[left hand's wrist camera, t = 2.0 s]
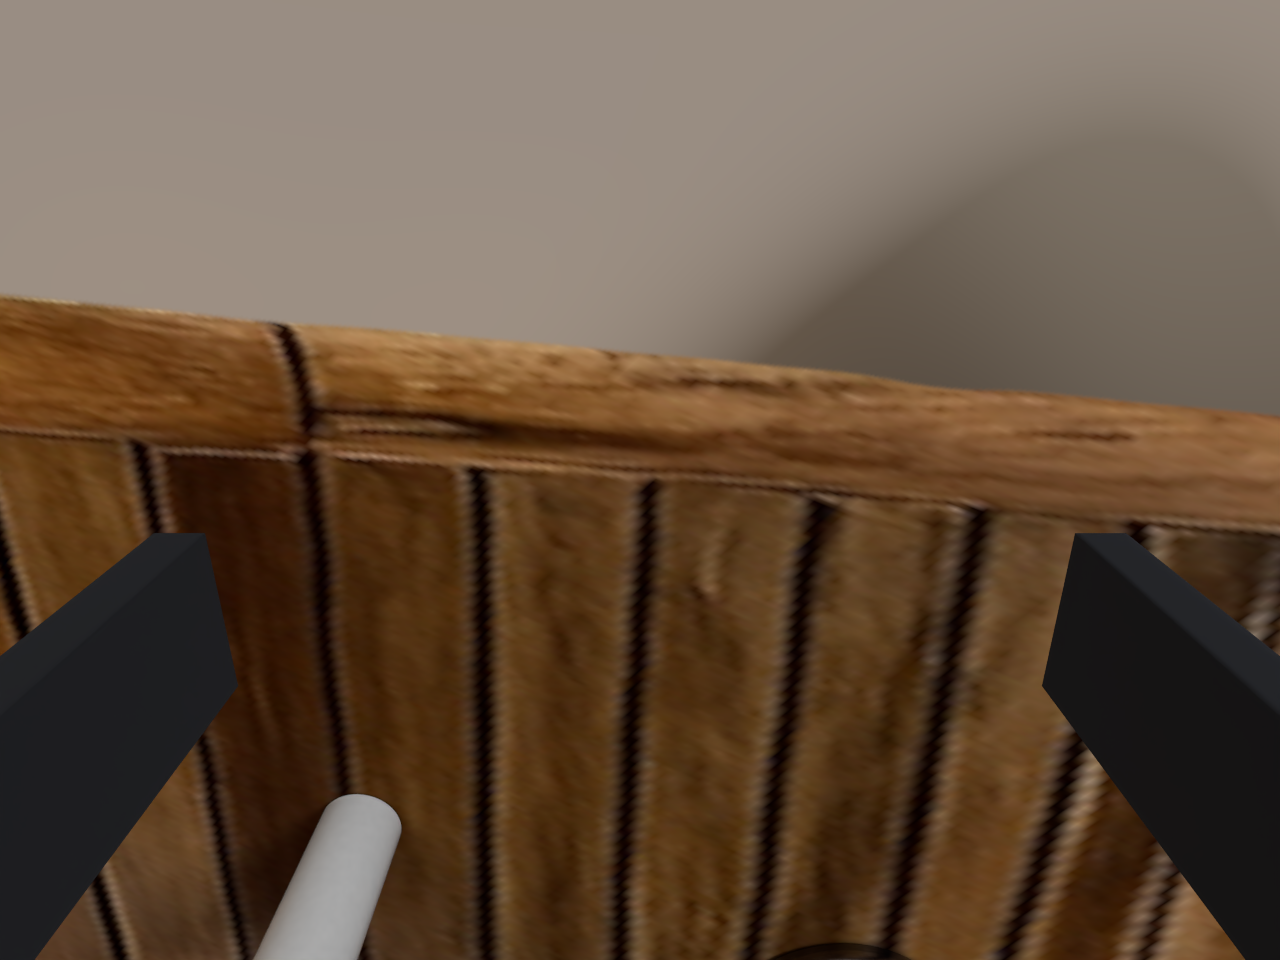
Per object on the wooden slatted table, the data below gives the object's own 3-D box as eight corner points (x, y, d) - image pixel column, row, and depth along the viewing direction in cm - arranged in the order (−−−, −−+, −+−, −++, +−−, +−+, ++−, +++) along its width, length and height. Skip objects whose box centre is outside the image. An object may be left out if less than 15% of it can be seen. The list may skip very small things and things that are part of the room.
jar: (407, 853, 52) (306, 1163, 36) (330, 856, 52) (194, 1168, 36) (394, 791, 50) (280, 1090, 34) (314, 795, 50) (163, 1095, 34)
